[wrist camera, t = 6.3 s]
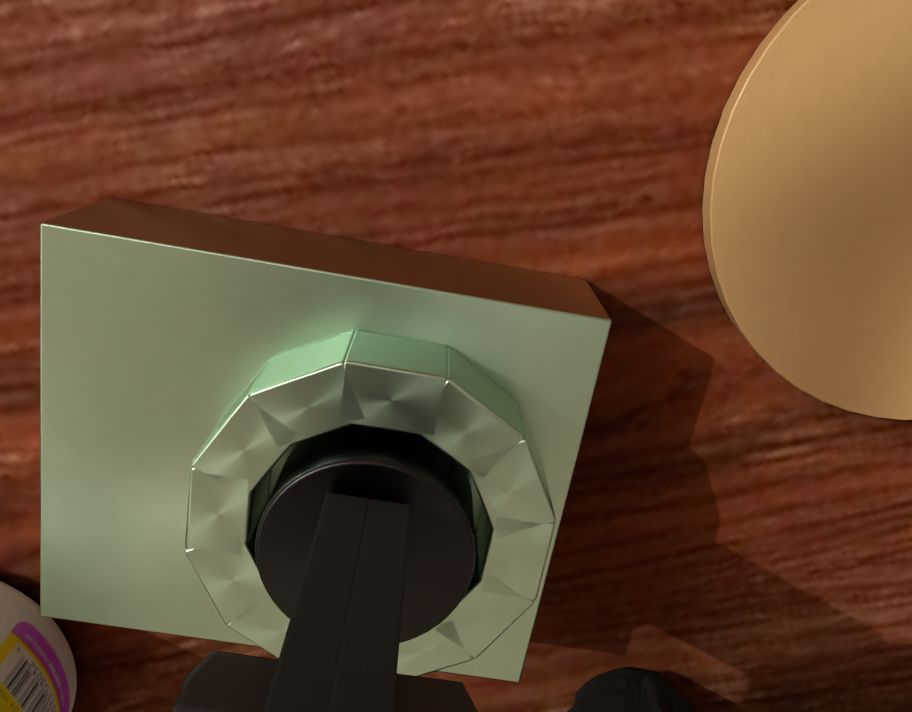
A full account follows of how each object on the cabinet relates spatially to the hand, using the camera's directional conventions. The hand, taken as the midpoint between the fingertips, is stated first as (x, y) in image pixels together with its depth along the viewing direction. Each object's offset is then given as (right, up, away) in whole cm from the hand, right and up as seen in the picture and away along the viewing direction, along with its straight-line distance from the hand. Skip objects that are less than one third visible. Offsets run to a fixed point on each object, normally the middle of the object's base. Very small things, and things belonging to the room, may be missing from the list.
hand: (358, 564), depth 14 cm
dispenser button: (0, +1, +2) cm, 2 cm away
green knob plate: (-1, +2, +6) cm, 6 cm away
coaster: (+13, +7, +4) cm, 15 cm away
